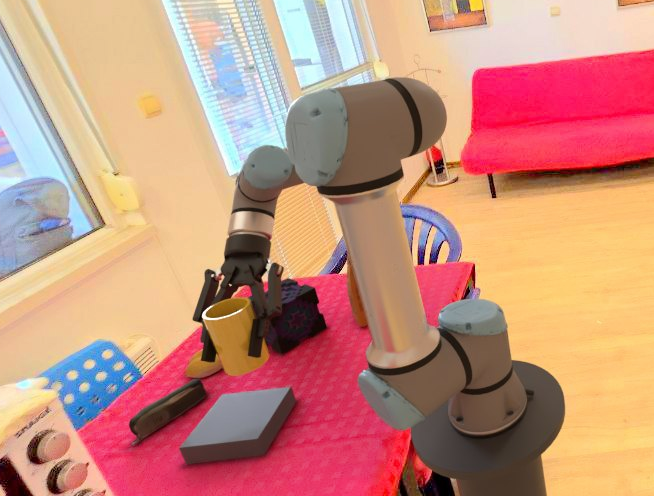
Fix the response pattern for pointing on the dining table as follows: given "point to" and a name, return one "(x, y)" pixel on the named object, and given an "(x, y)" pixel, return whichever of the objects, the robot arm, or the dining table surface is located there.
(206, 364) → the bread roll
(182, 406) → the dark pencil case
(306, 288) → the energy cube
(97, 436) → the dining table surface
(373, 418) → the dining table surface
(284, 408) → the grey block
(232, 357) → the yellow cup
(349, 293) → the coffee package
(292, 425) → the dining table surface
